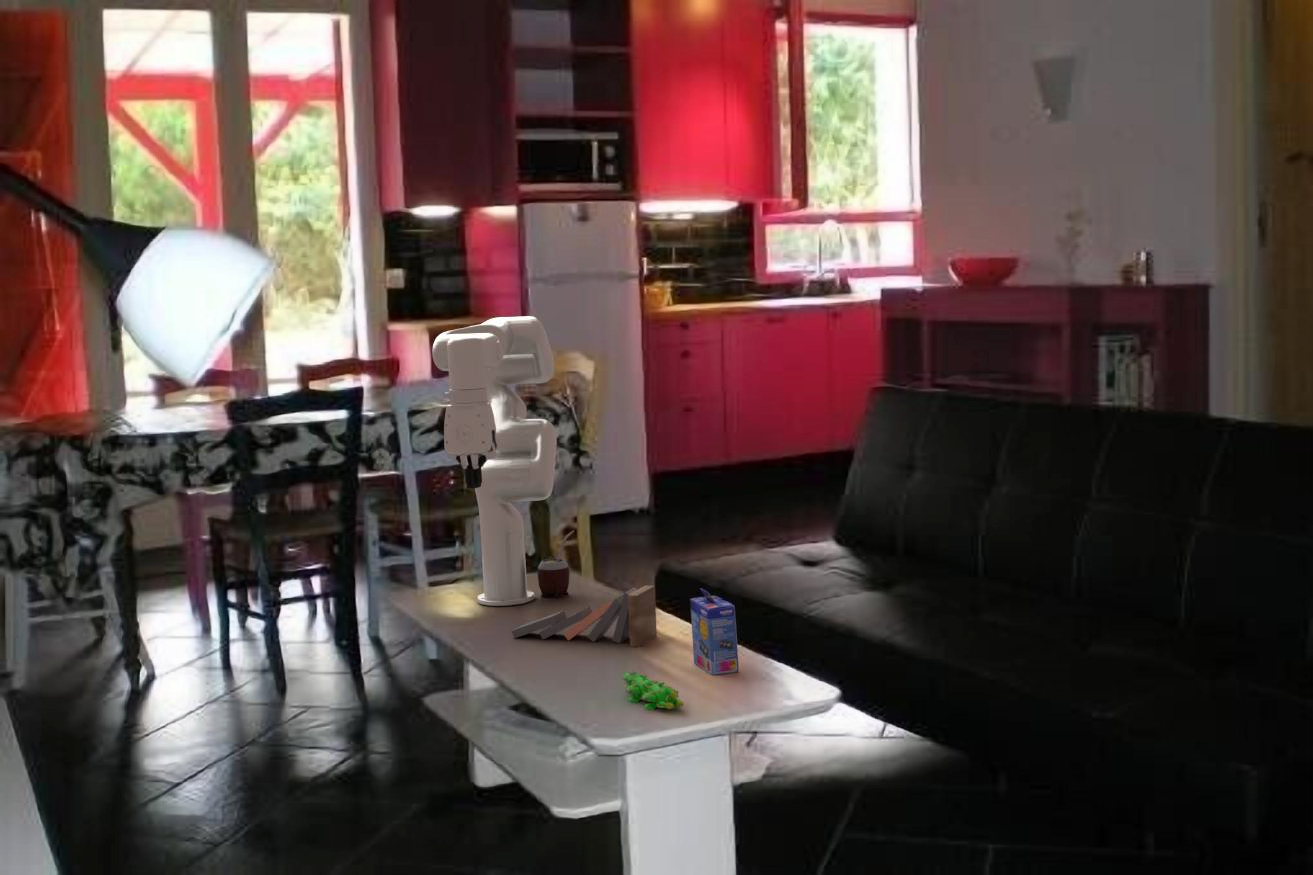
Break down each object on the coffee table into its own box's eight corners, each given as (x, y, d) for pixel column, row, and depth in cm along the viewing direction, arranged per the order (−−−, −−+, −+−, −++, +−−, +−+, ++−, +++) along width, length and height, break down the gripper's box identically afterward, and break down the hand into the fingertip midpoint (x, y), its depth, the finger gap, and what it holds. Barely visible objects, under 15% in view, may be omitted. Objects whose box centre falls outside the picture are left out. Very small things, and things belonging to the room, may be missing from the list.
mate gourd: (535, 594, 354) (532, 528, 353) (569, 590, 357) (566, 525, 355) (543, 600, 347) (539, 533, 346) (578, 597, 350) (574, 530, 348)
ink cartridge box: (691, 663, 287) (688, 585, 286) (719, 659, 289) (716, 582, 288) (710, 676, 278) (707, 595, 277) (739, 672, 280) (736, 591, 278)
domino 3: (563, 633, 309) (600, 606, 306) (573, 628, 314) (610, 600, 310) (568, 640, 309) (604, 613, 306) (578, 634, 314) (614, 607, 310)
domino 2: (539, 632, 311) (579, 611, 307) (549, 626, 316) (589, 606, 312) (542, 639, 311) (583, 619, 307) (553, 633, 316) (593, 613, 312)
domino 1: (511, 630, 313) (553, 615, 309) (522, 625, 318) (564, 610, 314) (514, 638, 313) (556, 623, 309) (525, 632, 318) (566, 617, 314)
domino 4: (587, 636, 307) (615, 598, 304) (597, 630, 312) (625, 593, 309) (593, 641, 307) (621, 604, 304) (603, 635, 312) (631, 598, 309)
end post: (630, 646, 302) (627, 595, 301) (647, 635, 310) (645, 585, 309) (640, 646, 301) (637, 595, 300) (656, 635, 310) (654, 585, 309)
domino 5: (612, 640, 306) (624, 592, 303) (622, 634, 310) (634, 587, 308) (619, 643, 305) (631, 595, 303) (629, 637, 310) (641, 589, 308)
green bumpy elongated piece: (644, 688, 273) (642, 663, 272) (696, 711, 257) (695, 685, 257) (610, 694, 270) (608, 669, 269) (661, 718, 254) (660, 692, 254)
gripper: (427, 399, 317) (432, 490, 319) (493, 399, 312) (498, 490, 314) (445, 396, 324) (450, 484, 326) (510, 395, 319) (515, 485, 321)
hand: (474, 487), depth 320 cm, fingers closed
